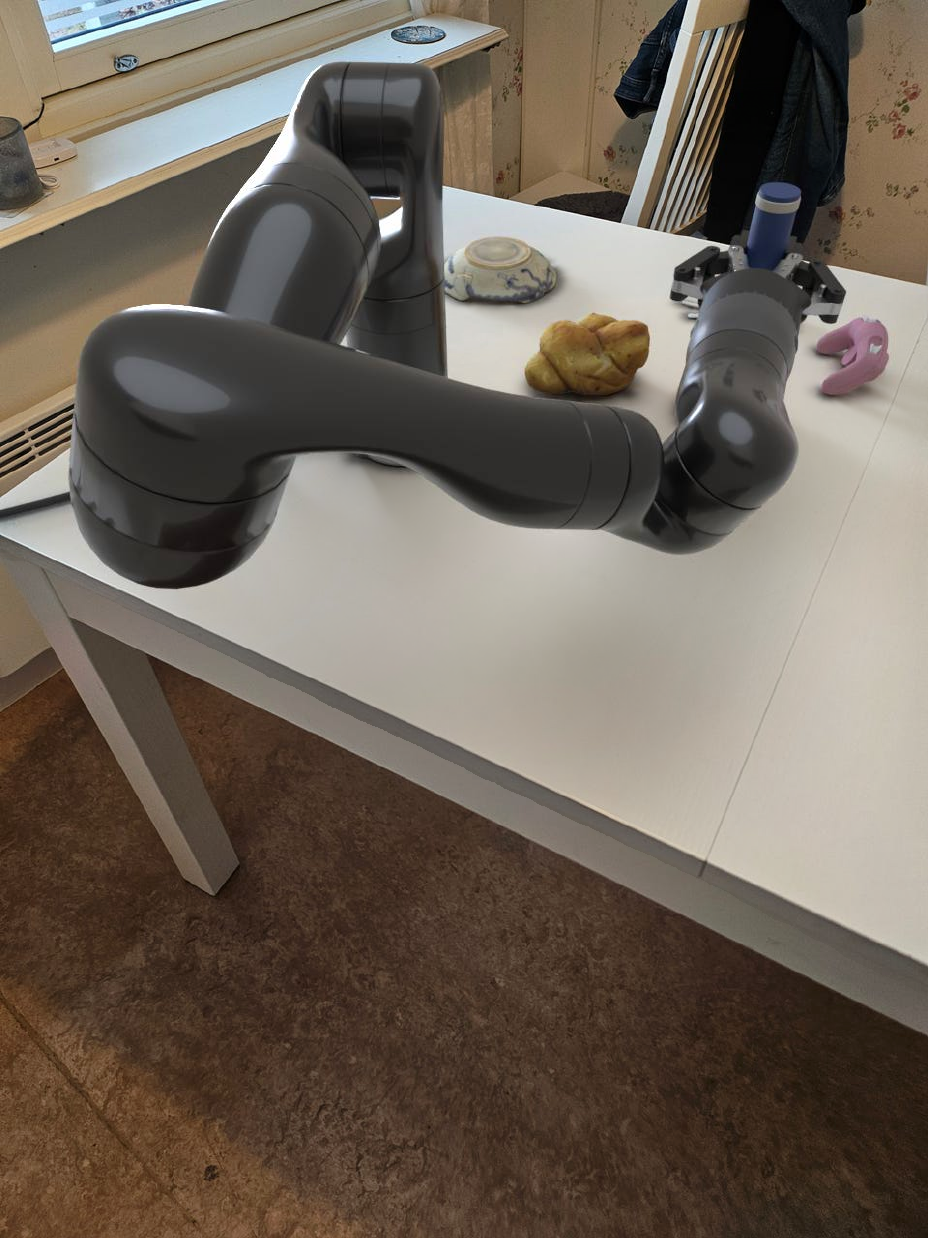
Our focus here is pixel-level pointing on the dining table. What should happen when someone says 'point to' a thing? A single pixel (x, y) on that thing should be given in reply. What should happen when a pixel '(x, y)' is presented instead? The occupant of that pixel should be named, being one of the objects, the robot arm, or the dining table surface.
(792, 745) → the dining table surface
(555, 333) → the bread roll
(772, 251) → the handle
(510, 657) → the dining table surface
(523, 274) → the decorative bowl
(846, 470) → the dining table surface
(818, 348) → the video game controller
